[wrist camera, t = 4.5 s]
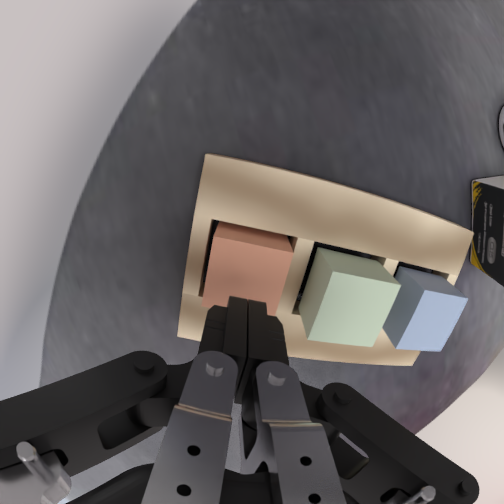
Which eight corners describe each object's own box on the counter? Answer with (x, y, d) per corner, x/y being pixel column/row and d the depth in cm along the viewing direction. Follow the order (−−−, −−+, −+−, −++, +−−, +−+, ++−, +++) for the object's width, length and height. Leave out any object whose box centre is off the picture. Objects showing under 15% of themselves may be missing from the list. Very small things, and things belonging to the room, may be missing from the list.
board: (210, 153, 17) (205, 153, 15) (459, 224, 19) (474, 232, 17) (182, 320, 21) (177, 336, 19) (403, 351, 23) (411, 365, 21)
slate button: (399, 266, 18) (424, 289, 14) (441, 276, 18) (468, 298, 15) (376, 319, 19) (395, 348, 16) (419, 324, 20) (440, 351, 16)
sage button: (317, 247, 17) (332, 271, 14) (377, 260, 18) (401, 285, 14) (298, 307, 19) (307, 340, 15) (355, 316, 19) (372, 347, 16)
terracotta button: (220, 219, 18) (213, 236, 15) (285, 233, 19) (293, 252, 15) (208, 279, 20) (201, 306, 16) (269, 291, 20) (273, 319, 17)
